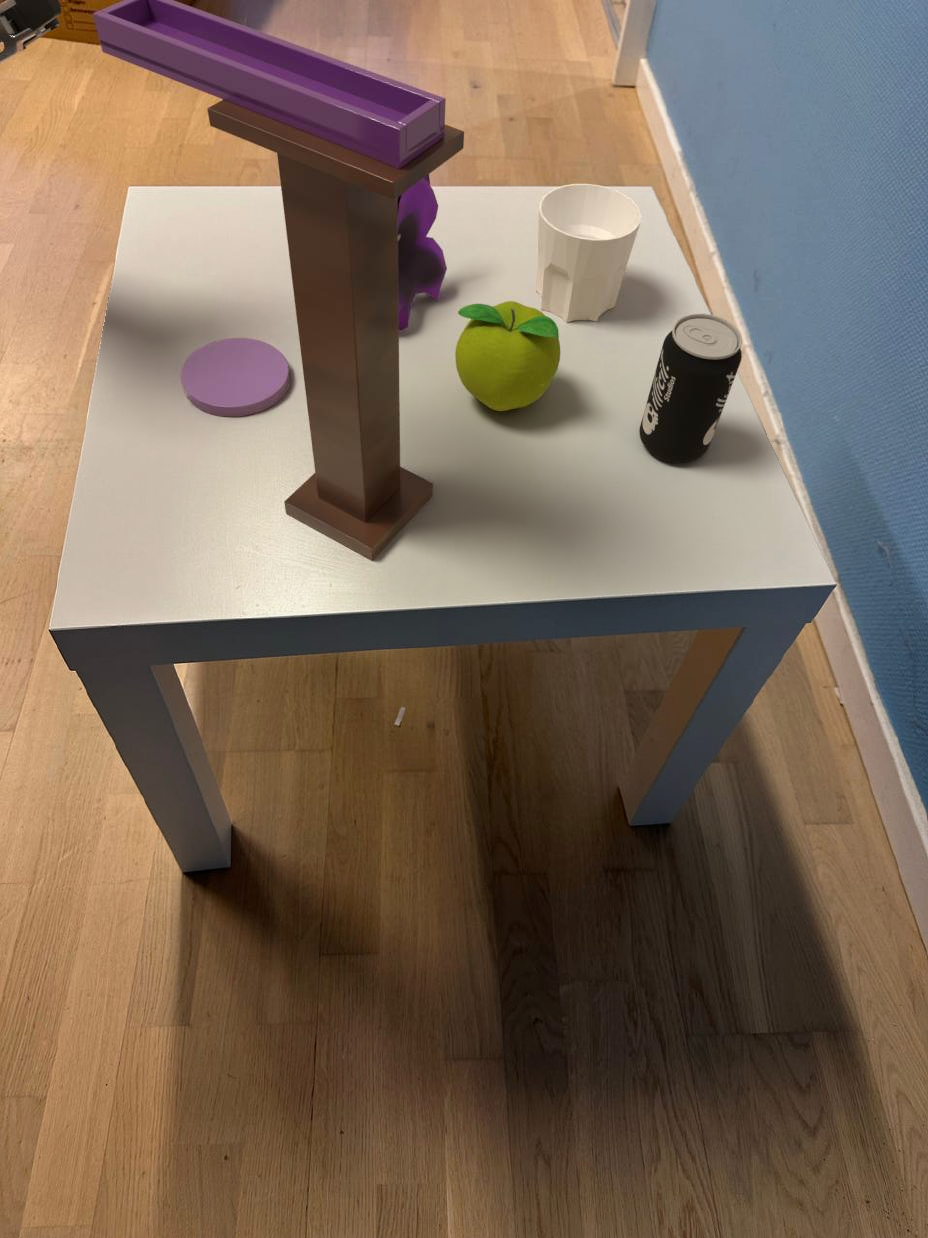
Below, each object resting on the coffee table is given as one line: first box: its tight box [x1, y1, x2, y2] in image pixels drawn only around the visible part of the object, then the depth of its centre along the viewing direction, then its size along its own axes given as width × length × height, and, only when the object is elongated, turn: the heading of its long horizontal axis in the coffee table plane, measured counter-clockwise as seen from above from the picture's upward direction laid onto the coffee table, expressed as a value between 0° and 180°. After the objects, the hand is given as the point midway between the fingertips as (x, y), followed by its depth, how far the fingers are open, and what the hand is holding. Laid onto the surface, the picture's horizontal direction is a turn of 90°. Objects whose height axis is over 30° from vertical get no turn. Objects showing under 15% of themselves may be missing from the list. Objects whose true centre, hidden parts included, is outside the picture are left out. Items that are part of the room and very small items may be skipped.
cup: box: [535, 183, 642, 323], centre depth 91 cm, size 10×10×10 cm
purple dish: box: [92, 0, 447, 169], centre depth 51 cm, size 4×22×2 cm, turn 57°
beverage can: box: [638, 313, 743, 464], centre depth 78 cm, size 7×7×12 cm
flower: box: [397, 174, 448, 332], centre depth 91 cm, size 15×15×14 cm
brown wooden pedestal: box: [206, 99, 465, 561], centre depth 64 cm, size 9×13×32 cm
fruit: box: [454, 300, 561, 412], centre depth 82 cm, size 9×9×10 cm
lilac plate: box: [180, 337, 291, 418], centre depth 85 cm, size 10×10×1 cm
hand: (1, 15), depth 60 cm, fingers open, 8 cm apart
